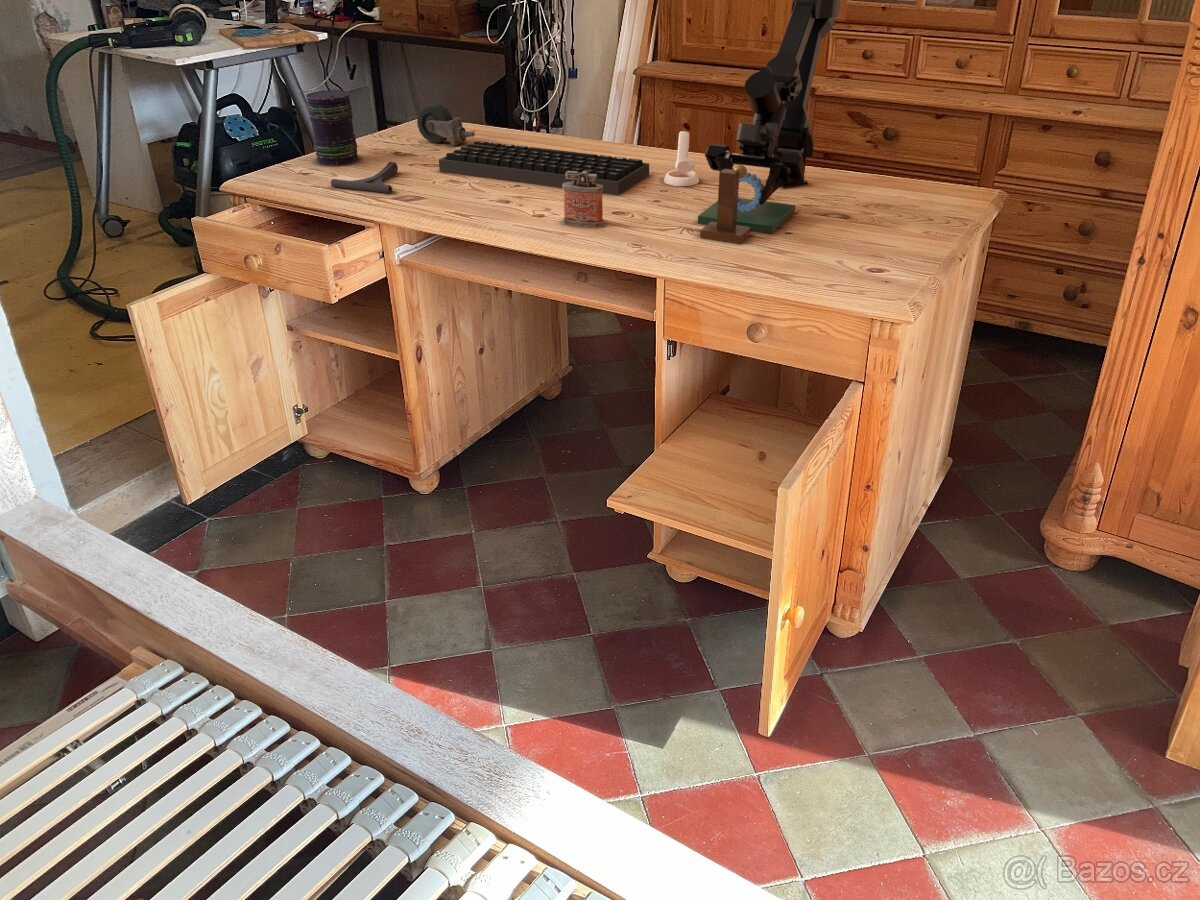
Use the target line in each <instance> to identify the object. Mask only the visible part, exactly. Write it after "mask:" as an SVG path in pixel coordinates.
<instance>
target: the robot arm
mask: <svg viewBox="0 0 1200 900" xmlns="http://www.w3.org/2000/svg"><path fill="white" fill-rule="evenodd" d="M840 9H841V0H792V4H791V14H790V17H789V20H788V22H787V25H786V28H785V32H784V33H783V34H784V35H783V36H782V40H781V43H780V45H779V48H778V51H777V52H776V55H775V56H774V57H772V58H771V59H770V60H768V61H767V63H766V65H765V66H760V69H759V71H756V72H754V73H752V74H751V75H750V76H749V77H748V78H747V79H746V80H745V82H744V90H745V94H746V98H747V100H748V103H749V106H750V109H751V111H752V112H753V113H754V115H753V117H752V121H751V123H745V122H744V123H742V122H740V123H739V124H738V129H737V134H736V139H735V141H736V142H737V143H739V145H738V148H739V150H740V151H742V152H741V153H736V152H732V151H731V149H730V147H729V144H721V143H711V144H709V145H708V146H707V147H706V149H705V151H704V157H705V158H706V162H707V164H708V166H709V168H710V169H711V170H712V171H714V172H715V171H716V172H717V171H718V172H721V171H722V170H723V169H730V170H734V166H735V165H743V166H747V167H757V168H766V169H769V173H768V175H767V178H766V181H765V183H764V189H763V191H762V194H761V197H760V201H759V203H760V205H763V204H764V202H765V201H768V200H769V198H770V197H771V196H772V195H773V194H774V193H775V192H776V191H777V190H778V189H780V188H782V189H783V188H790V187H796V186H797V187H798V186H803V185H808V184H809V181H808V180H806V179H805V173H806V163H807V158H808V157H813V156H814V145H815V141H814V138H813V134H812V133H813V132H812V130H811V121H810V117H809V115H808V112H807V107H808V103H809V98H810V95H811V89H812V85H813V80H814V76H815V71H816V67H817V62H818V58H819V54H820V49H821V44H822V41H823V39H824V38H825V37H826V36H827V34H829V32H830V31H831V30H832V29H833V27H834V23H835V20H836V18H837V17H838V16H839V13H840ZM783 102H784V103H783Z"/></svg>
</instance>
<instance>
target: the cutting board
mask: <svg viewBox="0 0 1200 900" xmlns="http://www.w3.org/2000/svg"><path fill="white" fill-rule="evenodd" d="M739 199H740V200H742V201H743V202H744V203H745V202H748V203H750V202H753V200H754V199H751V198H743V197H739ZM717 210H718V200H716V201H715V202H714V203H713V204H711V205H710V206H708V207H707V208H706V209H704V211H702V212H701V213H700V214H699V215H697V224H701V225H705V226H706V225H707V224H709V223H710V222H711V221H712V222H717ZM795 212H796V205H795V204H791V203H790V204H789V203H783V202H782V203H781V202H773V201H768V200H766V201H765V202H764V204H763V205H760V204H759V205H758V206H757V207H756V208H754V209H751V210H750V211H746V210H745V211H744V212H741V211H740V210H737V223H736V225H740V226H747V227H751V232H756V233H763V234H770V235H773V234H774V233H776V231H778V229H779V228H780V227H781V226H782V225H783V224H784V223H785V222H786V221H787V220H789V219H790V218H791V217H792V216H793V215H794V214H795Z"/></svg>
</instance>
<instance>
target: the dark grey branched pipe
mask: <svg viewBox="0 0 1200 900" xmlns="http://www.w3.org/2000/svg"><path fill="white" fill-rule="evenodd" d="M398 171H399V166H398V164H397V162H395V161H388V162H387V164H386V165H385V166H384V167H383V168H382V169H381V170H380V171H378V172H377V173H376V174H375V175H372V176H370V177H366V178H361V179H353V180H345V179H336V178H332V179H331V180H330V186H331V187H332V188H341V189H349V190H350V189H351V190H358V191H367V192H375V193H384V194H391V193H393V186H392V185H390V184H384V181H385V180H387V179H389V178H391V177H394V176H396V174H398Z"/></svg>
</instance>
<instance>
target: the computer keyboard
mask: <svg viewBox="0 0 1200 900" xmlns="http://www.w3.org/2000/svg"><path fill="white" fill-rule="evenodd" d="M438 169H439V172H441V173H448V174H456V175H463V176H472V177H480V178H487V179H493V180H501V181H502V180H503V181H509V182H516V183H522V184H523V183H524V184H532V185H539V186H546V187H553V188H562V184H563V183H565V182H572V180H573V179H566V175H565V173H566V172H567V171H575V172H578V173H582V172H583V171H588V173H589V174H597V180H596V184H600V185H603V191H602V194H607V195H613V196H614V195H615V196H620V195H621V194H622V193H625V192H626V191H628V190H629V189H630V188H633V186H635V185H637V184H639V183H640V182H642V181H643V180H645V179H646V178H648V177H649V176H650V163H648V162H643V159H639V158H638V159H637V158H628V159H627V157H621V156H614V157H613V156H612V155H605V154H603V155H602V154H599V155H598V154H595V153H587V152H580V151H579V152H577V151H569V150H560V149H552V148H545V147H544V148H543V147H534V146H530V147H529V146H527V145H516V144H508V143H500V142H492V141H491V142H489V141H482V140H476V141H473V143H468V144H467V145H466V146H462V147H460V149H454V150H453V152H447V153H446V155H445V156H444V157H441V158H439V159H438ZM576 182H578V180H576ZM562 189H563V188H562Z"/></svg>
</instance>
